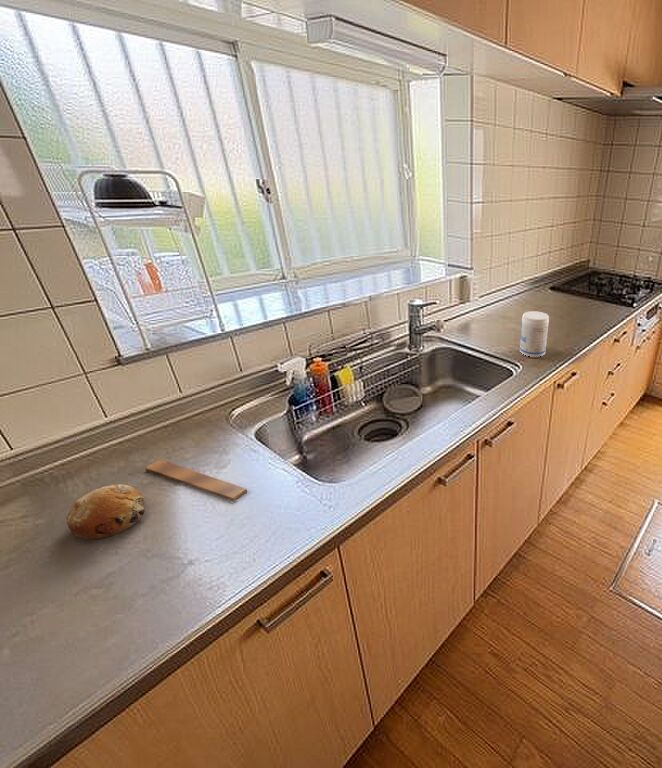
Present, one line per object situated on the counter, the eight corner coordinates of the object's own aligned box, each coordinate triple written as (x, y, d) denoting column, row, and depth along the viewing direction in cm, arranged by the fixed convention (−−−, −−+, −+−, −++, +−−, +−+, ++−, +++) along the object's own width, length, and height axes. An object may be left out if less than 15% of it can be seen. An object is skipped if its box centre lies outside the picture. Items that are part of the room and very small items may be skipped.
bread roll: (140, 510, 81) (115, 476, 79) (164, 508, 76) (138, 471, 74) (76, 547, 73) (47, 510, 71) (98, 548, 68) (67, 507, 66)
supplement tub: (515, 350, 156) (517, 312, 149) (537, 347, 160) (540, 309, 153) (527, 360, 148) (530, 320, 141) (550, 356, 152) (554, 317, 145)
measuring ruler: (145, 469, 87) (144, 467, 86) (160, 461, 89) (159, 459, 89) (233, 500, 80) (232, 498, 80) (247, 491, 83) (246, 488, 82)
